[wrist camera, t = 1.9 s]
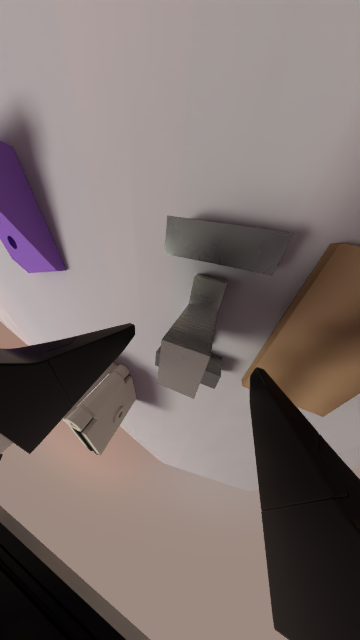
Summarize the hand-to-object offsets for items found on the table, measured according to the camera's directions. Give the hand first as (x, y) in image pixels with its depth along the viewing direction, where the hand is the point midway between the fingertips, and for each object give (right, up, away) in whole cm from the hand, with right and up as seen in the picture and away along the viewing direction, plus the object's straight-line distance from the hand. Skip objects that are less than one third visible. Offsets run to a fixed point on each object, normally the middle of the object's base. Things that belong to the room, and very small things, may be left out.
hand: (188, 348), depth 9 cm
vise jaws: (+2, +3, +6) cm, 7 cm away
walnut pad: (+13, -1, +3) cm, 14 cm away
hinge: (-13, -10, +19) cm, 25 cm away
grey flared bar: (+2, +3, +6) cm, 7 cm away
